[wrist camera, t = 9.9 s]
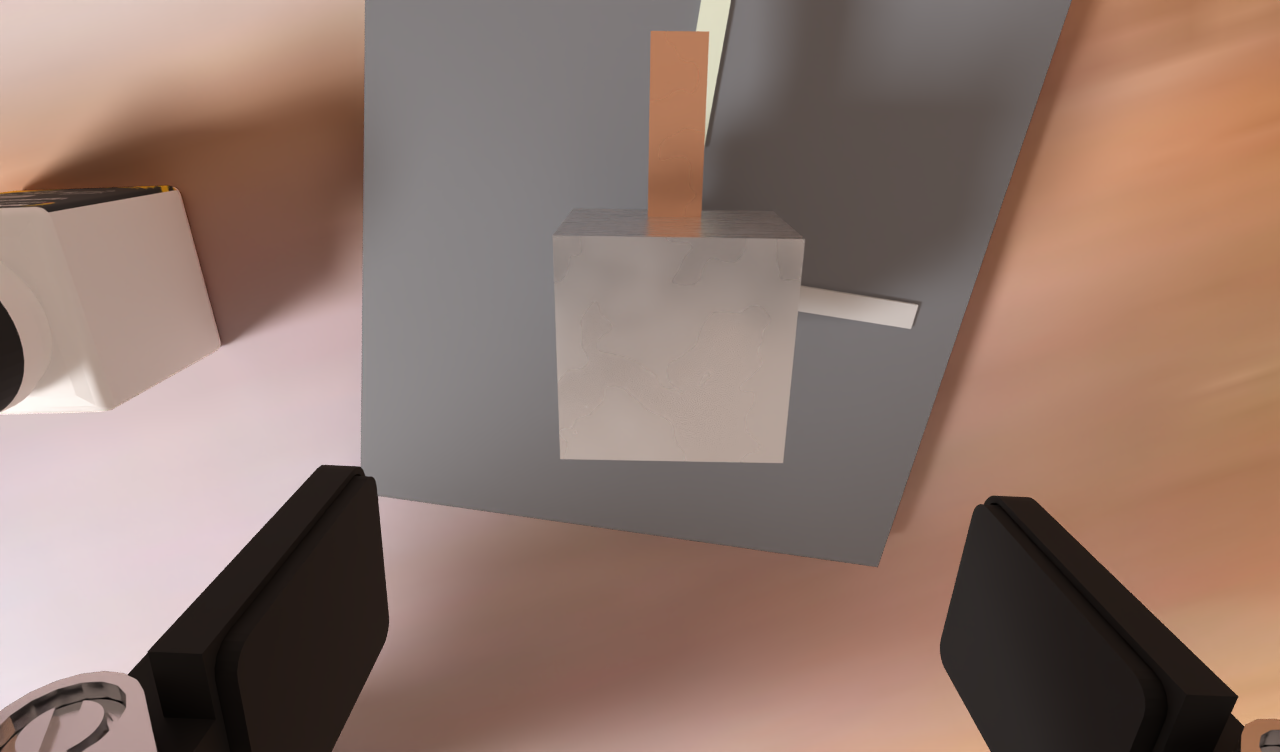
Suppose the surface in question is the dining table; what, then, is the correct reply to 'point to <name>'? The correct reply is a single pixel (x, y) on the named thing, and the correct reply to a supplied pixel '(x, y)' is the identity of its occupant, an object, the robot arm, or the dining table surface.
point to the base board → (732, 180)
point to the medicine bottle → (97, 297)
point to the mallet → (675, 302)
